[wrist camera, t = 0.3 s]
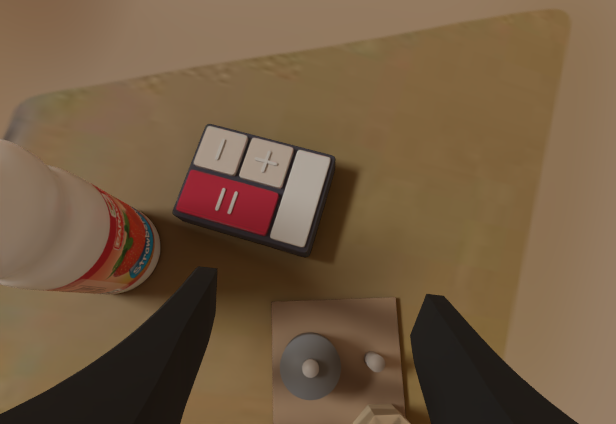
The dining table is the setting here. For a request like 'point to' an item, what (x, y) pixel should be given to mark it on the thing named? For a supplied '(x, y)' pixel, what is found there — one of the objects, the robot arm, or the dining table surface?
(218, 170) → the red white black box
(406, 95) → the dining table surface
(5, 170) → the fruit juice
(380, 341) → the gear board
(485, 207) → the dining table surface
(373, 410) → the maple gear
